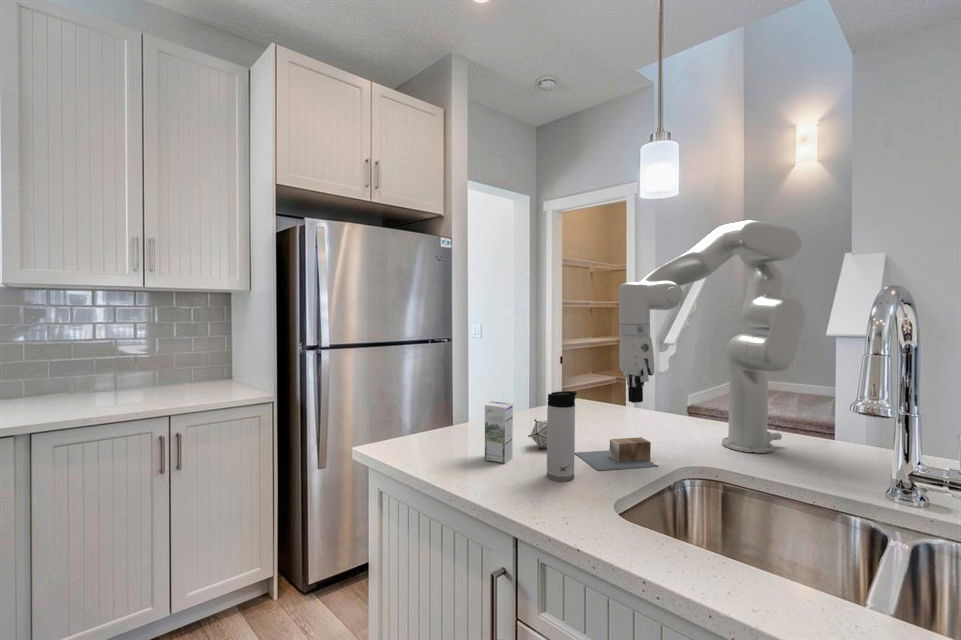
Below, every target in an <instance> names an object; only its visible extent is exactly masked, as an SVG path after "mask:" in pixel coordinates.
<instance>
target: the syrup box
mask: <svg viewBox="0 0 961 640" xmlns="http://www.w3.org/2000/svg"><path fill="white" fill-rule="evenodd" d="M513 415H514V404H513V402H508V401H507V402H505V401H499V400H498V401H497V400H496V401H495V400H493V401H489V402H487V403H486V404H484V461H485V460H486V462H491V461H492V463H497V462H498V463H499V464H506V463H508V462H509V461H510V460H512V459H513V453H514V452H513V436H514V435H513V430H514V429H513V428H514V427H513V425H514V422H513V419H514V416H513Z"/></svg>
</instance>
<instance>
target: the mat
mask: <svg viewBox="0 0 961 640" xmlns="http://www.w3.org/2000/svg"><path fill="white" fill-rule="evenodd" d="M575 455H576V456H577V457H578V456H579V457H578V458H580V459H581V460H582V459H583V460H582V461H584V462H585V463H586V464H587V465H589V466H590V467H591V468H593V469H594V470H595V469H596V470H595V471H597V472H602V471H603V472H604V470H605V471H615V470H616V471H617V469H619V470H631V469H632V468H633V469H644V468H657V467H659V465H657V464H656V463H653V462H652V461H651V460H637V461H622V462H617V461H616V460H614V459H613V458H611V457H610V449H608V450H595V451H577V452H575ZM629 468H630V469H629Z"/></svg>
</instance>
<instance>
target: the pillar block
mask: <svg viewBox="0 0 961 640" xmlns="http://www.w3.org/2000/svg"><path fill="white" fill-rule="evenodd" d="M609 450H610V457H611V458H613V459H614V460H616V461H617V462H622V461H637V460H649V461H651V450H652V449H651V441H650V440H647V439H645V438H643V437H642V436H641V437H625V438H623V437H621V438H609Z"/></svg>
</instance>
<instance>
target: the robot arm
mask: <svg viewBox="0 0 961 640" xmlns="http://www.w3.org/2000/svg"><path fill="white" fill-rule="evenodd" d="M801 248H802V239H801V236H800V234H799V233H798V232H797V231H796V230H795V229H793V228H790V227H788V226H783V225H778V224H773V223H771V222H764V221H758V220H743V221H737V222H733V223H727V224H724V225H721V226H718V227H717V228H715V229H714V230H713V231H712V232H710V233H709V234H708V235H706V236H705V237H704V238H703V239H702V240H700V241H699V242H698V243H697V244H695V245H694V246H693V247H692V248H691V249H689V250H688V251H686V252H685V253H683V254H681V255H680V256H677V257H675V258H674V259H672V260H671V261H669V262H667V263H665V264H663V265H661V266H659V267H658V268H656V269H654V270H653V271H652V272H650V273H649V274H647V275H646V276H645V277H644V278H642V280H640V281H639V282H638V281H637V282H635V281H634V282H633V281H632V282H623V283H621V284H620V285H619V288H618V308H619V309H618V314H619V315H618V317H619V318H618V321H619V322H618V324H619V325H618V327H619V329H618V331H619V337H620V338H619V346H618V347H619V350H618V365H619V371H621V372H622V376H623V377H625V378H626V385H627V391H628V394H627V398H628V402H630V403H636V404H638V403H642V402H644V392H643V391H644V389H643V388H644V386H645V383H647V382H648V383H649V381H650V380H649V378H650V377H649V376H654V374H655V356H654V355H655V354H654V347H653V341H652V336H651V310H652V311H654V310H655V311H670V310H673V309H675V308H677V307H678V306H679V305H680V304H681V303H682V301H683V300H684V299H683V298H684V293H683V289H682V287H681V286H684V285H688V284H692V283H695V282H699V281H701V280H704V279H707V278H708V277H710V276H711V275H712V274H714V273H715V272H716V271H717V270H718V269H719V268H720V267H722V266H723V265H724V264H725V263H726V262H728V261H729V260H730V259H731V258H733V257H735V256H737V255H738V257H739V259H740V260H741V262H742V263H743V265H744V266H745V268H746V270H747V273H748V285H747V290H746V293H745V296H744V297H745V298H744V301H743V306H742V309H741V315H740V316H741V317H740V320H741V324H742V325H743V326H744V327H745V328H747V329H749V330H753V331H758V332H759V331H761V332H768V335H767V334H766V335H764V334H754V333H742V334H741V333H740V334H737V335H735V336H734V337H732V338H731V339H730V340H729V341H728V343H727V344H726V348H725V349H726V350H725V351H726V352H725V353H726V360H727V365H728V371H729V390H728V391H729V392H728V393H729V394H728V396H729V398H728V429H727V430H728V434H727V437H724V438H722V441H721V444H722V445H723V446H724V447H726V448H727V449H730V448H731V450H734V451H737V452H738V451H739V452H743V451H744V453H750V452H755V453H754V454H767V452H768V453H771V452H774V445H773V444H772V443H771V442H772V441H778V440H779V441H780V440H782V439H783V437H782V436H783V435H782V434H781V433H780V432H772V433H771V432H770V431H768V419H769V416H768V414H769V412H768V410H769V383H768V379H767V375H766V373H765V372H770V373H783V372H787V371H788V370H789V369H791V367H793V364H794V362H795V361H796V357H797V354H798V350H799V346H800V343H801V339H802V335H803V330H804V327H805V321H806V312H805V309H804V306H803V304H802V303H801V301H799V299H797V298H795V297H793V296H789V295H788V296H787V295H785V296H783V290H784V286H785V279H784V278H785V277H784V275H783V273H782V271H781V268H780V267H779V266H778V264H777V263H776V262H782V261H789V260H791V259H793V258H795V257H796V256H797V255H799V253H800V251H801Z"/></svg>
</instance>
